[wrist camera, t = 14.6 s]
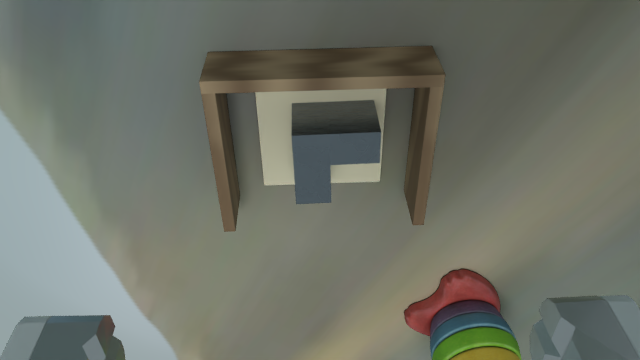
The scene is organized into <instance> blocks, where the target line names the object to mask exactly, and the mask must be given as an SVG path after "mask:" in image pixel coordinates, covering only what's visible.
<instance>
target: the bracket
mask: <svg viewBox="0 0 640 360" xmlns="http://www.w3.org/2000/svg"><path fill="white" fill-rule="evenodd" d="M291 136H292V151H293V165H294V179H295V194H296V204H309V203H331V165H346V164H369V163H380V148H381V128H380V124H379V120H378V115H377V111H376V107H375V102H374V100H358V101H334V102H309V103H292V132H291Z"/></svg>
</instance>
